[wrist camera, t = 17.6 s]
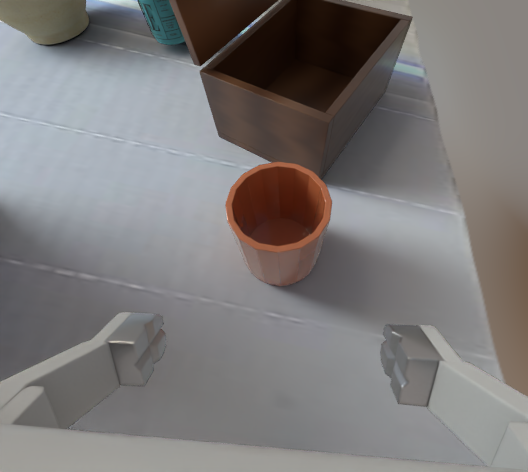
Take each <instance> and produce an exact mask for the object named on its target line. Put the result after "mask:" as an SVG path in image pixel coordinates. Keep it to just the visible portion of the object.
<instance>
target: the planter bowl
mask: <svg viewBox="0 0 528 472" xmlns="http://www.w3.org/2000/svg"><path fill="white" fill-rule="evenodd" d="M0 20H1V21H3V22H4V23H6V24H8V25H9V26H11V27H13V28H15V29H17V30H19V31H21V32H23V33H25V34H26V35H27V36H28V37H29V38H30V39H31V40H32V41H33V42H35V43H38V44H44V45H49V44H56V43H61V42H64V41H67V40H69V39H72V38H74V37H75V36H77V35H79V34H80V33H81V32H83V31H84V30H85V29H86V27H87V26H88V24H89V17H88V15H87V12H86V0H0Z"/></svg>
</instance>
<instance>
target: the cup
mask: <svg viewBox="0 0 528 472" xmlns="http://www.w3.org/2000/svg"><path fill="white" fill-rule="evenodd" d="M331 207H332V200H331V197H330V194H329V192H328V189H327V186H326V184H325V183H324V182H323V181H322V180H321V179H320V178H319V177H318V176H317V175H316V174H315V173H314V172H313V171H311V170H309V169H306V168H304V167H302V166H300V165H298V164H293V163H285V162H274V163H268V164H263V165H259V166H257V167H255V168H253V169H251V170H250V171H248V172H246V173H244V174H243V175H242V176H241V177H240V178H239V179H238V180H237V181H236V183H235V184H234V185H233V186H232V187H231V189H230V192H229V195H228V198H227V201H226V213H227V221H228V224H229V226H230V229H231V231H232V233H233V236H234V238H235V240H236V243H237V245H238V247H239V250H240V252H241V255H242V257H243V259H244V262H245V263H246V265H247V267H248V269H249V270H250V271H251V273H252V274H253V275H254V276H255V277H256V278H258V279H259V280H261V281H263V282H265V283H267V284H270V285H276V286H286V285H291V284H294V283H296V282H299V281H300V280H302V279H303V278H305V277H306V276H307V275H308V274H309V273H310V272H311V270H312V269H313V267H314V265H315V263H316V262H317V259H318V256H319V253H320V250H321V246H322V243H323V240H324V237H325V234H326V231H327V227H328V224H329V221H330V215H331Z"/></svg>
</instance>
